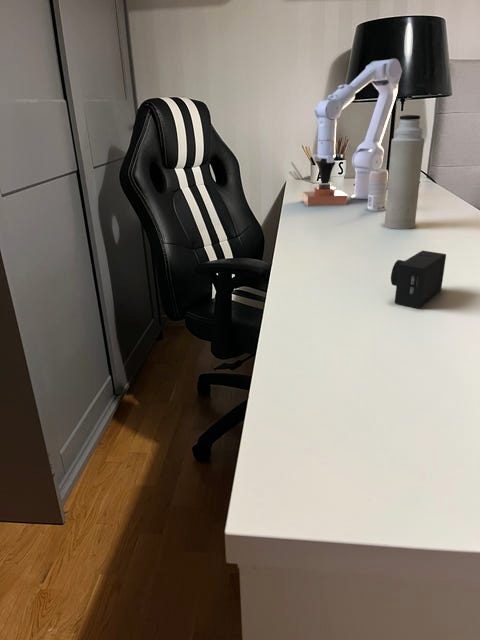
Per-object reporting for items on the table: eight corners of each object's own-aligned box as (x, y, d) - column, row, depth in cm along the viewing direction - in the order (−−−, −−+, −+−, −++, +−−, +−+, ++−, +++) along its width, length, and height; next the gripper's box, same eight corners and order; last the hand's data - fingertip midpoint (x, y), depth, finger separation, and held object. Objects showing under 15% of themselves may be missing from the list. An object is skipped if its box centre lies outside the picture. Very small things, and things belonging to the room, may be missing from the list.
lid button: (329, 188, 171) (329, 182, 170) (331, 189, 167) (332, 184, 166) (317, 188, 170) (317, 183, 170) (320, 190, 167) (320, 184, 166)
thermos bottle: (413, 222, 139) (424, 114, 128) (416, 229, 132) (429, 115, 121) (383, 222, 141) (392, 115, 130) (385, 228, 134) (395, 115, 123)
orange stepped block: (339, 199, 175) (340, 185, 173) (346, 204, 166) (347, 189, 164) (302, 201, 175) (303, 186, 173) (307, 206, 166) (308, 191, 164)
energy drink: (383, 208, 160) (386, 169, 155) (386, 211, 155) (389, 171, 150) (366, 208, 160) (369, 169, 155) (368, 211, 155) (371, 171, 151)
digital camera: (411, 285, 92) (415, 248, 90) (441, 291, 89) (446, 253, 86) (387, 302, 85) (391, 262, 82) (419, 309, 82) (424, 268, 79)
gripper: (310, 139, 169) (309, 180, 174) (318, 142, 156) (317, 186, 161) (331, 138, 169) (329, 179, 175) (341, 141, 156) (338, 185, 161)
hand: (324, 183), depth 168 cm, fingers closed
